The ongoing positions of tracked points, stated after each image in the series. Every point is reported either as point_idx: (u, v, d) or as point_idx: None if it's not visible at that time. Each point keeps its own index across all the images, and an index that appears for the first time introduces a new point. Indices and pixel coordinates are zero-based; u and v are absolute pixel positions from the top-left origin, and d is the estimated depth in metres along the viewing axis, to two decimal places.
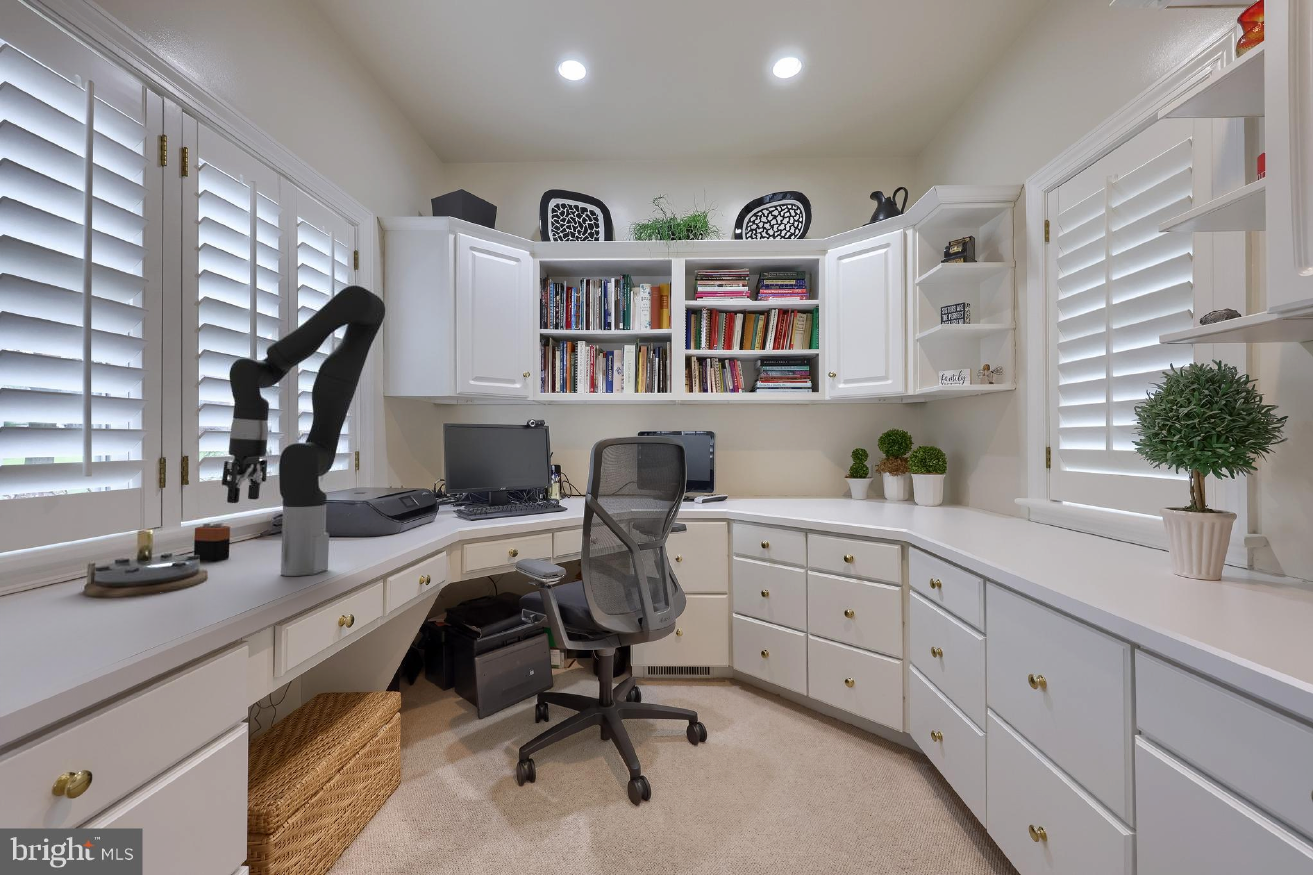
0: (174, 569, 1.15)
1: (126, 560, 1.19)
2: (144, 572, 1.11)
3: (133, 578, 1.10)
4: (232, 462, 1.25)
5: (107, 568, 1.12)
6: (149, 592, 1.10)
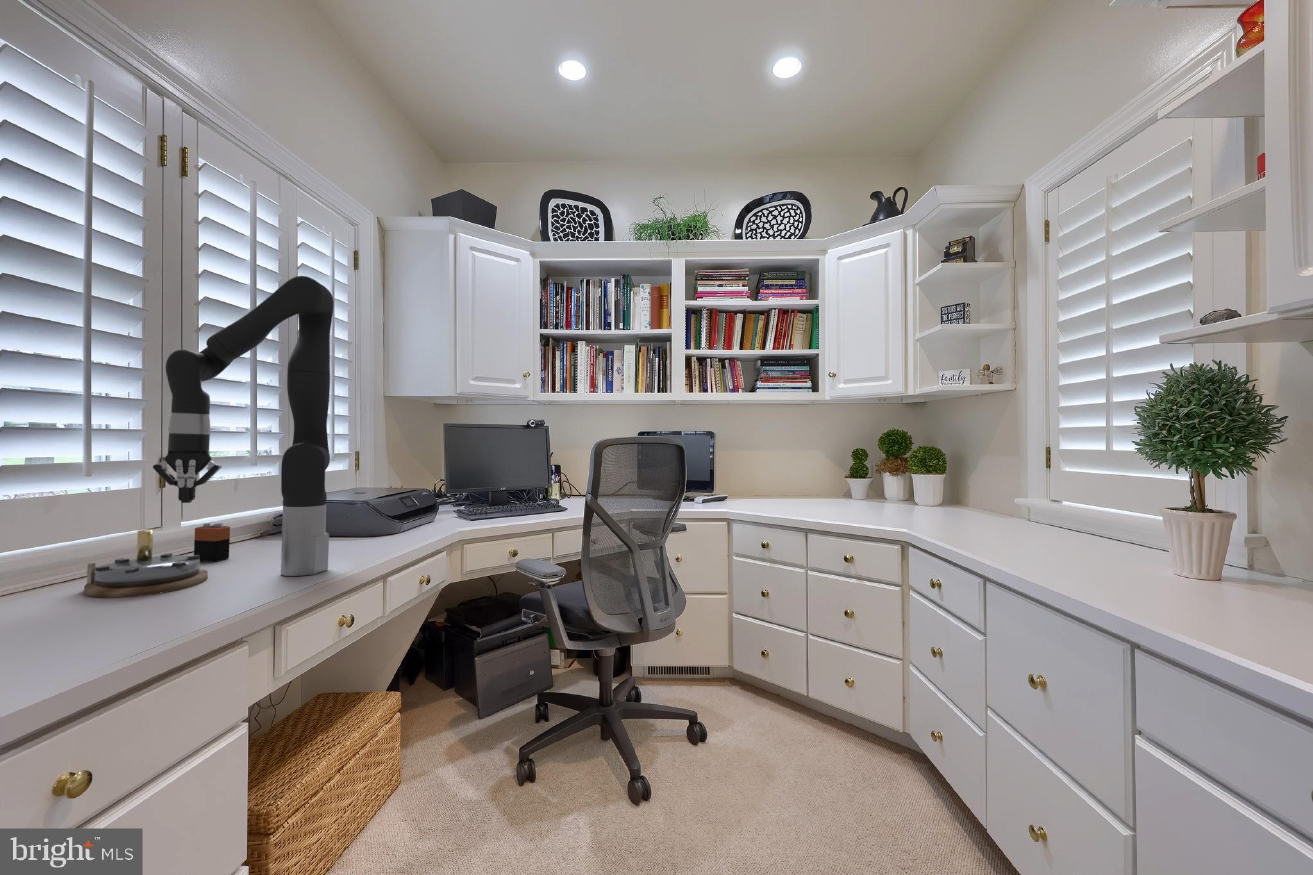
0: (174, 569, 1.15)
1: (126, 560, 1.19)
2: (144, 572, 1.11)
3: (133, 578, 1.10)
4: (220, 467, 1.30)
5: (107, 568, 1.12)
6: (149, 592, 1.10)
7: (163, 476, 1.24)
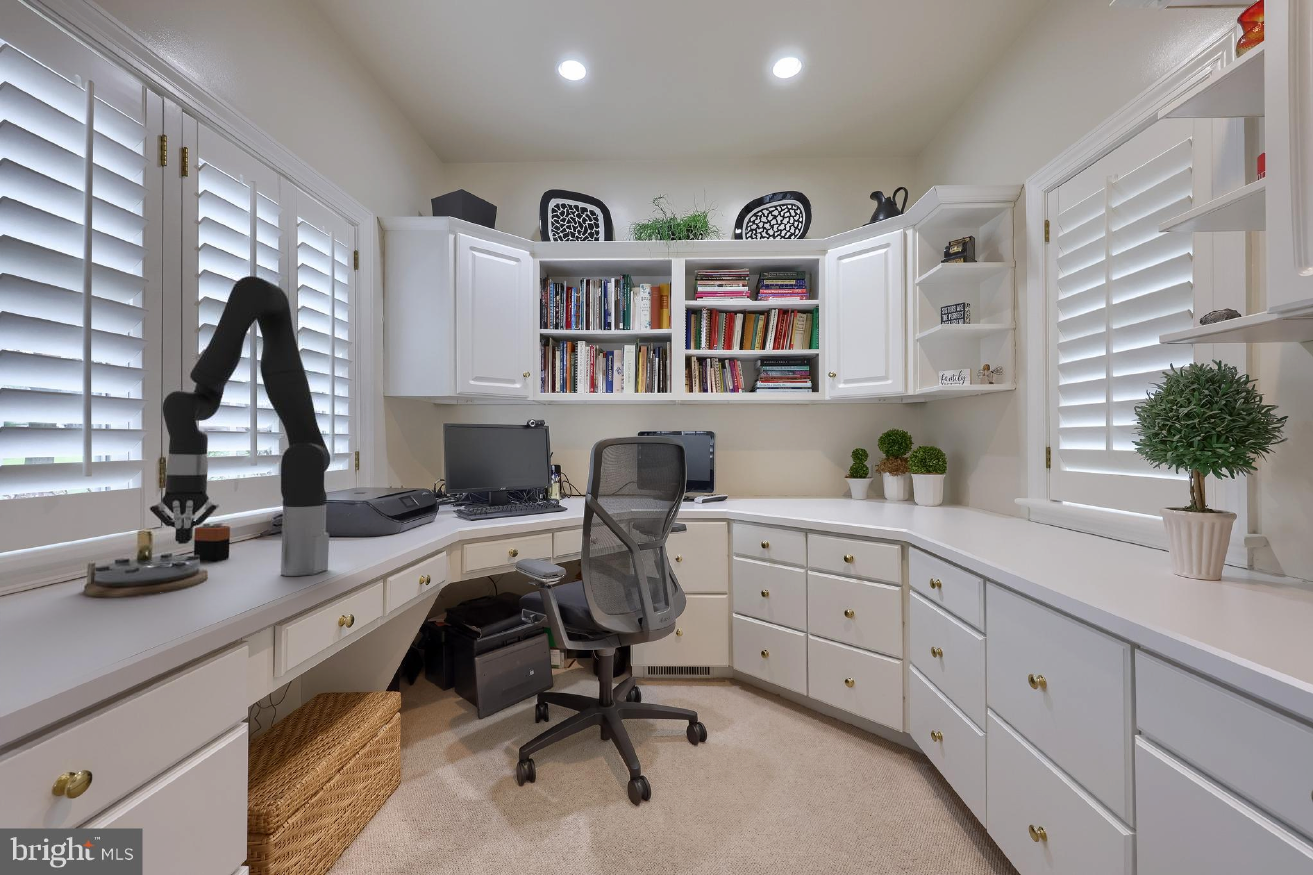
0: (174, 569, 1.15)
1: (126, 560, 1.19)
2: (144, 572, 1.11)
3: (133, 578, 1.10)
4: (217, 506, 1.30)
5: (107, 568, 1.12)
6: (149, 592, 1.10)
7: (160, 517, 1.23)
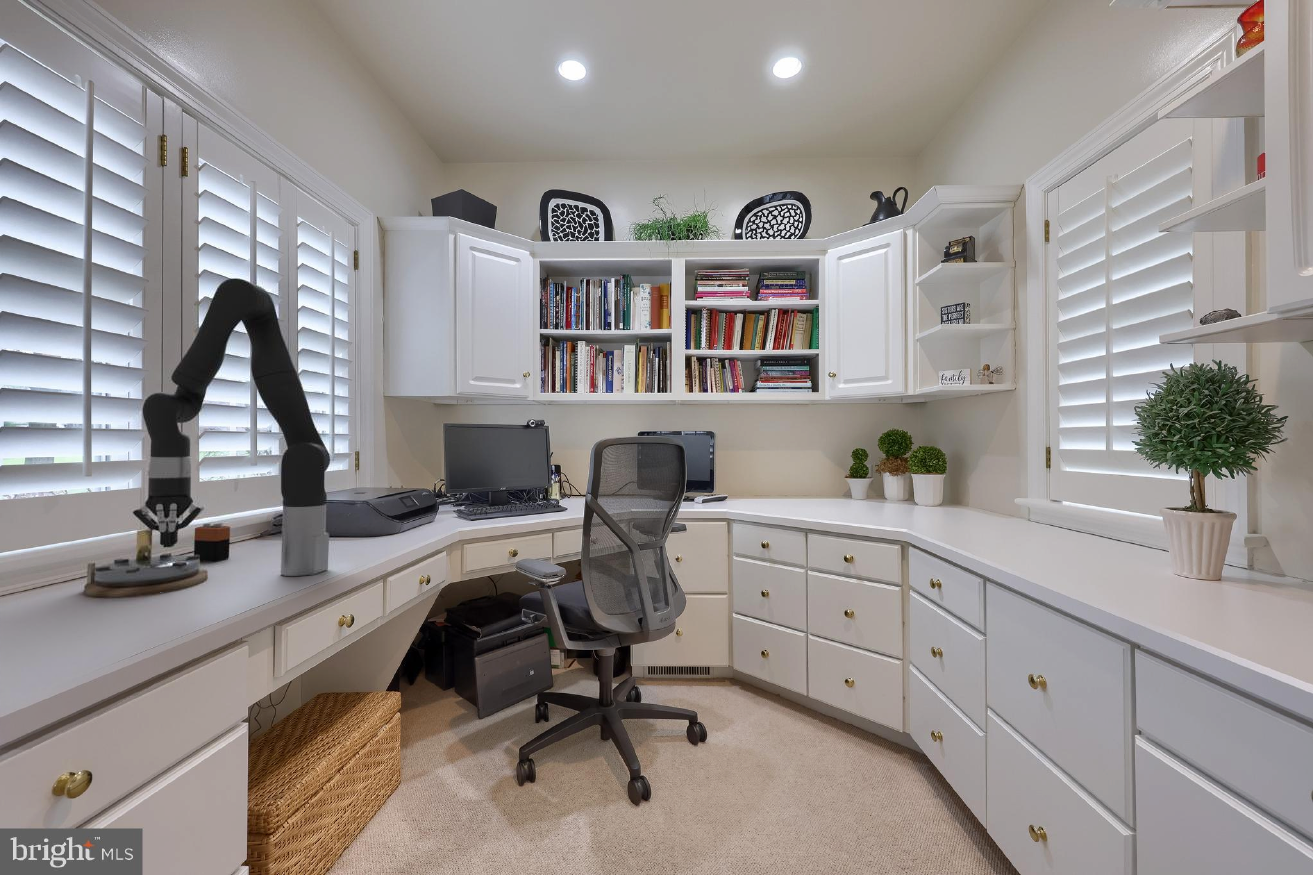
0: (175, 569, 1.15)
1: (125, 560, 1.19)
2: (145, 572, 1.11)
3: (134, 578, 1.10)
4: (202, 509, 1.28)
5: (107, 568, 1.12)
6: (149, 592, 1.10)
7: (144, 521, 1.22)
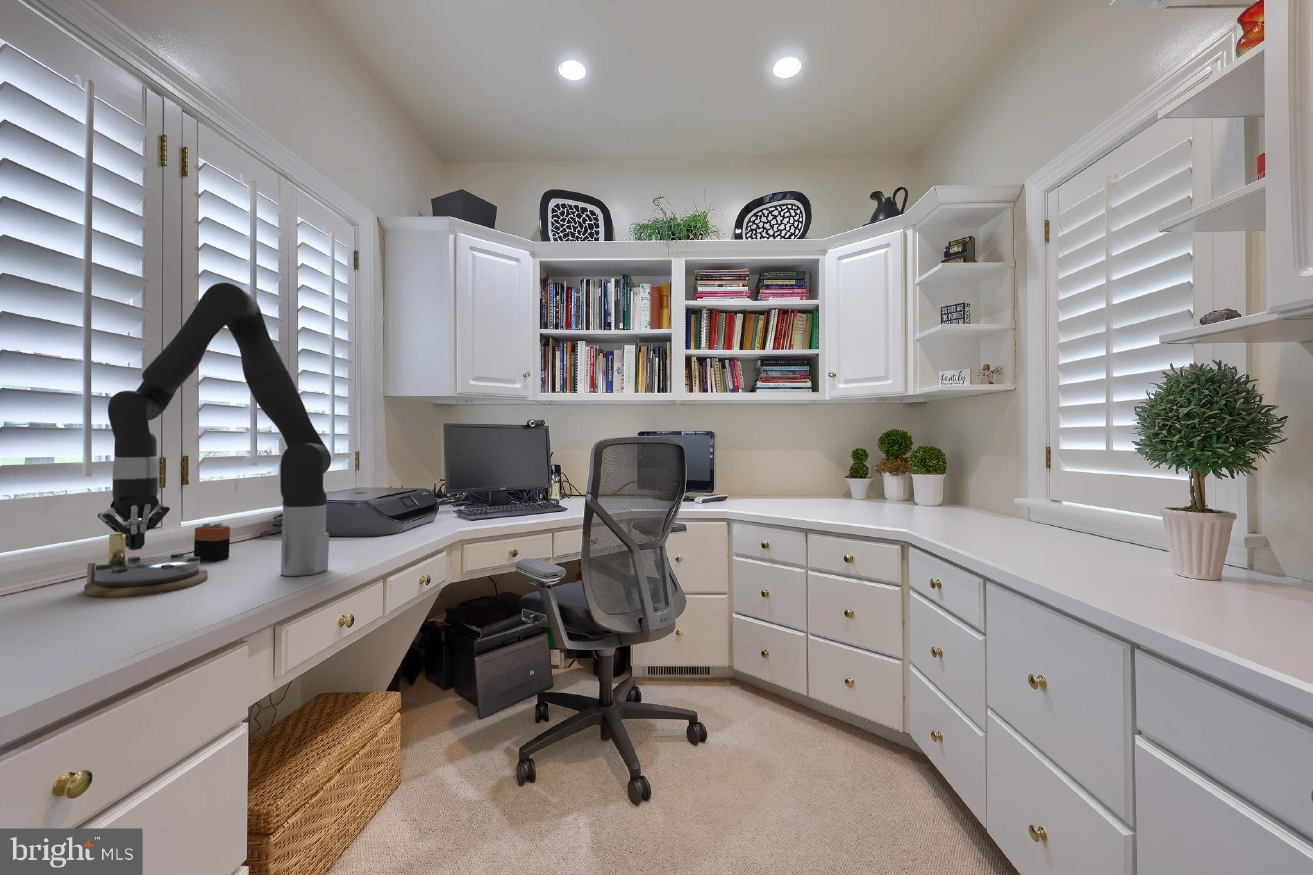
0: (197, 563, 1.21)
1: (109, 565, 1.14)
2: (181, 566, 1.16)
3: (172, 573, 1.15)
4: None
5: (126, 570, 1.11)
6: (149, 592, 1.10)
7: (116, 525, 1.17)
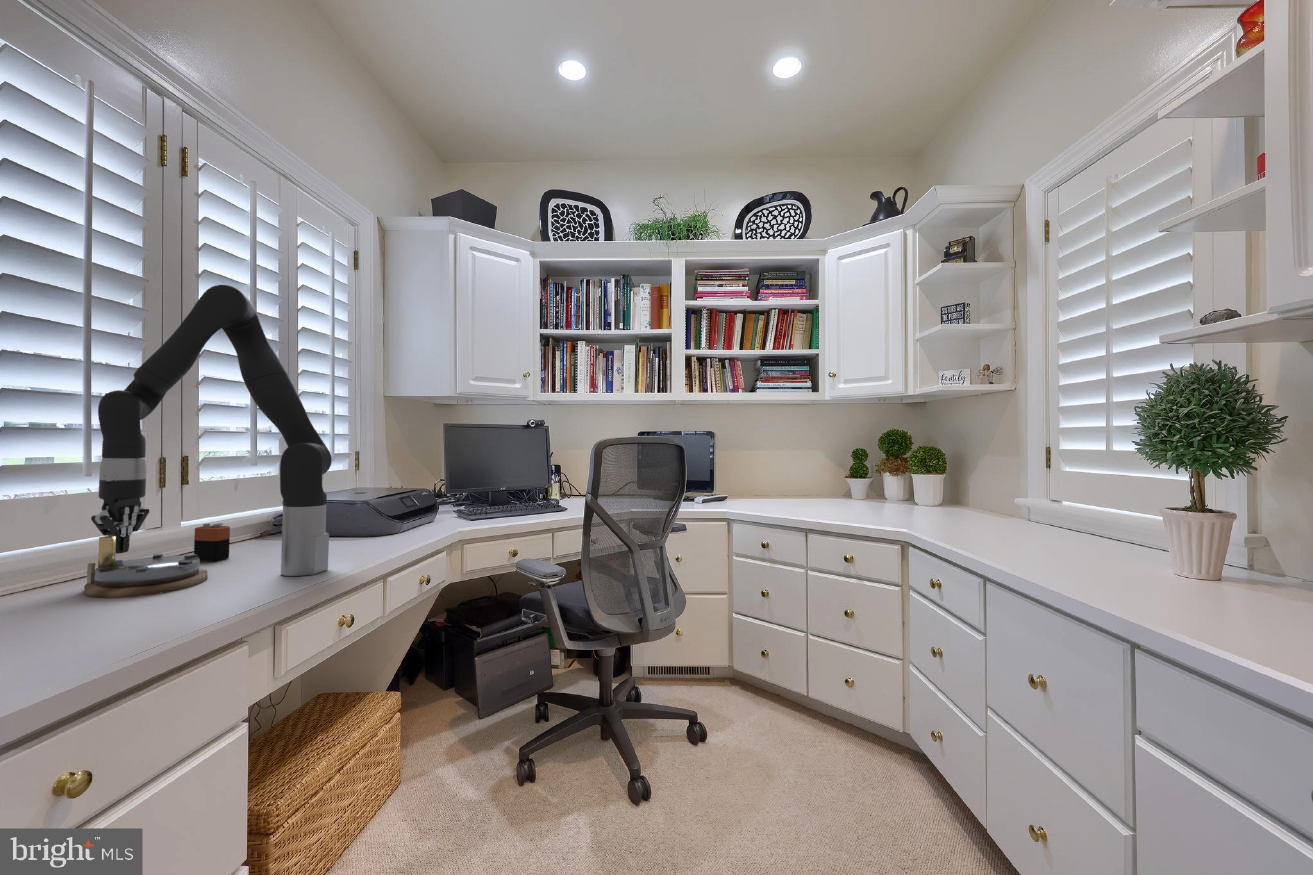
0: None
1: None
2: (196, 562, 1.21)
3: (191, 569, 1.19)
4: None
5: (147, 568, 1.12)
6: (149, 592, 1.10)
7: (111, 527, 1.15)
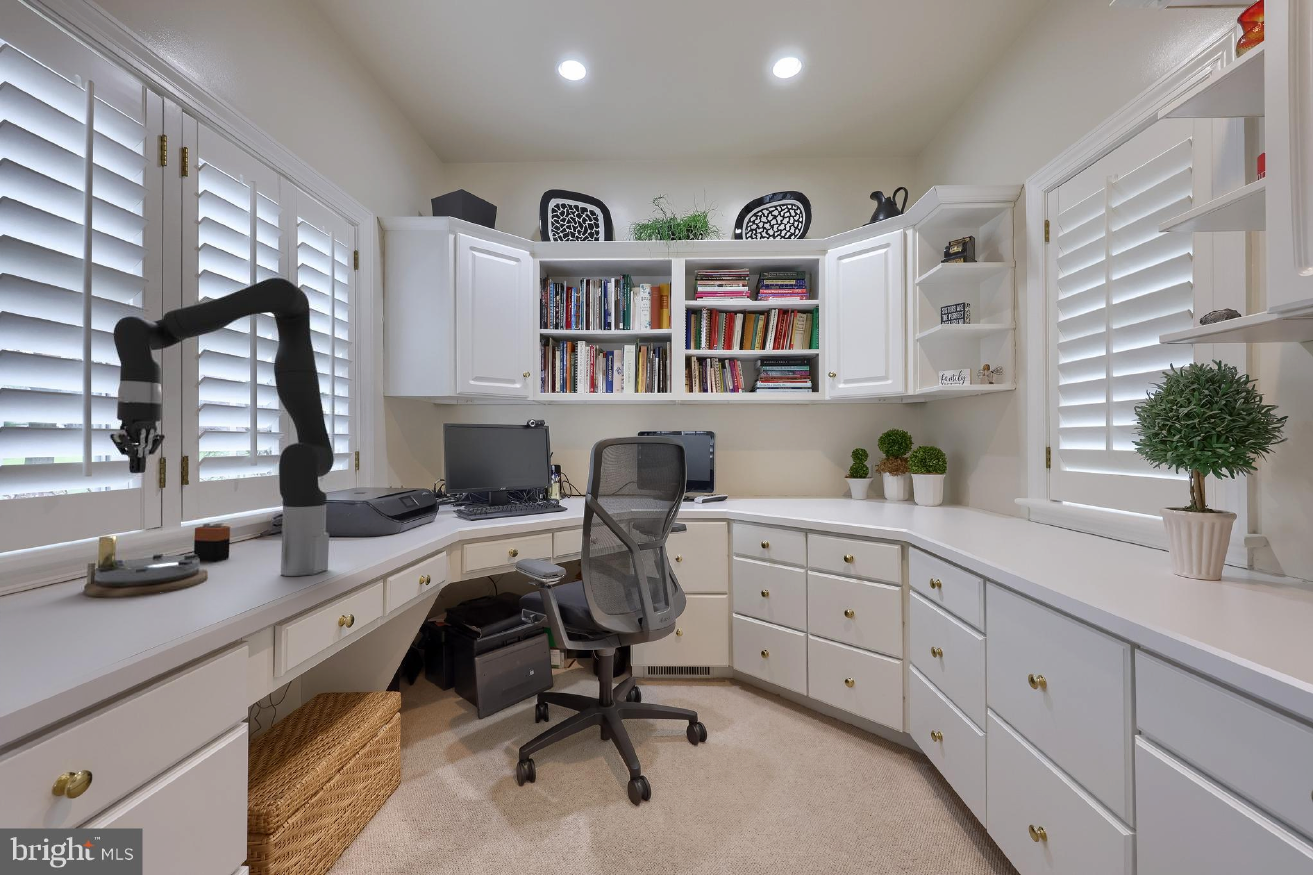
0: None
1: None
2: (196, 562, 1.21)
3: (191, 569, 1.19)
4: None
5: (147, 568, 1.12)
6: (149, 592, 1.10)
7: (129, 446, 1.21)
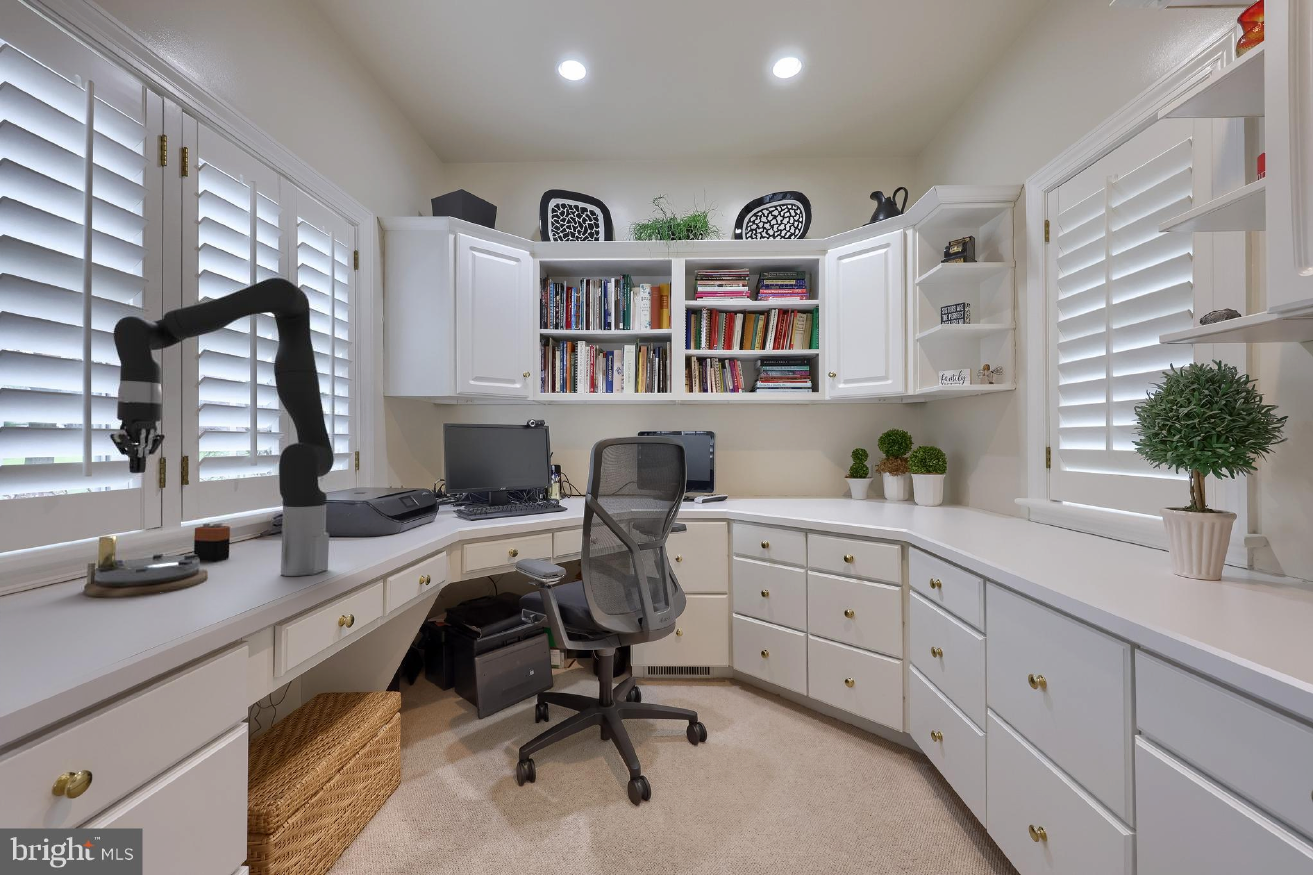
0: None
1: None
2: (196, 562, 1.21)
3: (191, 569, 1.19)
4: None
5: (147, 568, 1.12)
6: (149, 592, 1.10)
7: (129, 446, 1.21)
